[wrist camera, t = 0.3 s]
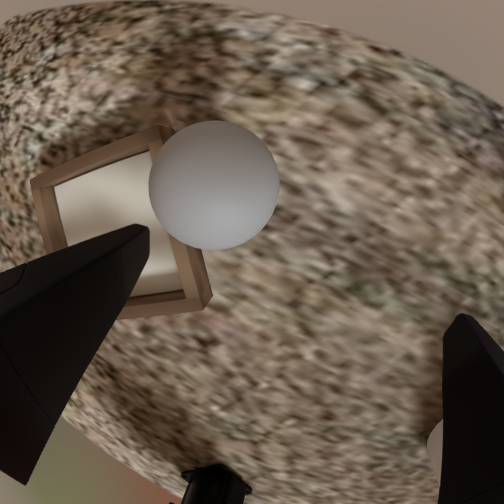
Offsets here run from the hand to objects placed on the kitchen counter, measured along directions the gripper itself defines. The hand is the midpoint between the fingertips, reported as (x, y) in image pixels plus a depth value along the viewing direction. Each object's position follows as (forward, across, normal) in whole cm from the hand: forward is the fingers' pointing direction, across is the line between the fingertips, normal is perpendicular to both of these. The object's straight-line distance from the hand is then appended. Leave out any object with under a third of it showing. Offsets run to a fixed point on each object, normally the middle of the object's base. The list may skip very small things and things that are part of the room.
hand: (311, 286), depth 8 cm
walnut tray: (+12, +14, +10) cm, 21 cm away
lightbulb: (+15, +5, +4) cm, 16 cm away
